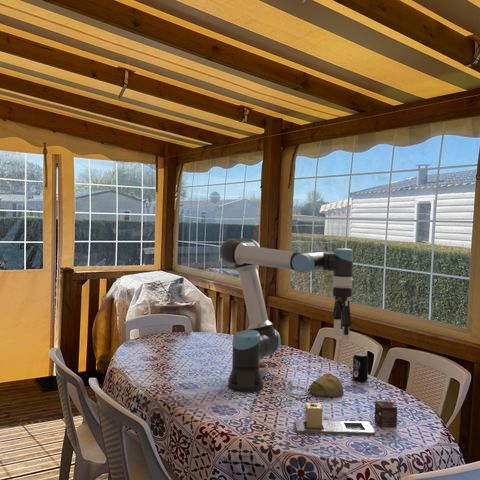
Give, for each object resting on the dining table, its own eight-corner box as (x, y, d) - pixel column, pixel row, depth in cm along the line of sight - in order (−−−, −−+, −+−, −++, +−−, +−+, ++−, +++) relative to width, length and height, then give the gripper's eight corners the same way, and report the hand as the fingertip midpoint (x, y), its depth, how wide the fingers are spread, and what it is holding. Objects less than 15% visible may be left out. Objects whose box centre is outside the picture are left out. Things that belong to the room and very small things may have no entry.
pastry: (345, 391, 212) (345, 372, 212) (341, 400, 200) (342, 380, 200) (312, 387, 217) (312, 368, 216) (306, 396, 205) (307, 376, 205)
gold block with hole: (306, 431, 169) (307, 407, 169) (305, 425, 174) (305, 402, 174) (321, 431, 169) (322, 408, 169) (319, 425, 174) (320, 402, 174)
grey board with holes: (297, 433, 167) (297, 430, 167) (294, 422, 176) (294, 419, 176) (375, 435, 167) (375, 432, 167) (368, 424, 176) (368, 421, 176)
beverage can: (367, 383, 223) (368, 356, 223) (352, 381, 225) (353, 355, 224) (367, 378, 230) (367, 352, 229) (352, 377, 231) (353, 351, 231)
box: (373, 421, 179) (374, 401, 179) (390, 421, 179) (390, 400, 179) (380, 428, 173) (380, 407, 173) (397, 428, 173) (397, 407, 173)
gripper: (360, 290, 191) (358, 346, 191) (343, 283, 215) (342, 332, 216) (340, 290, 190) (339, 346, 191) (326, 282, 215) (325, 332, 216)
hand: (340, 338), depth 203 cm, fingers open, 13 cm apart
